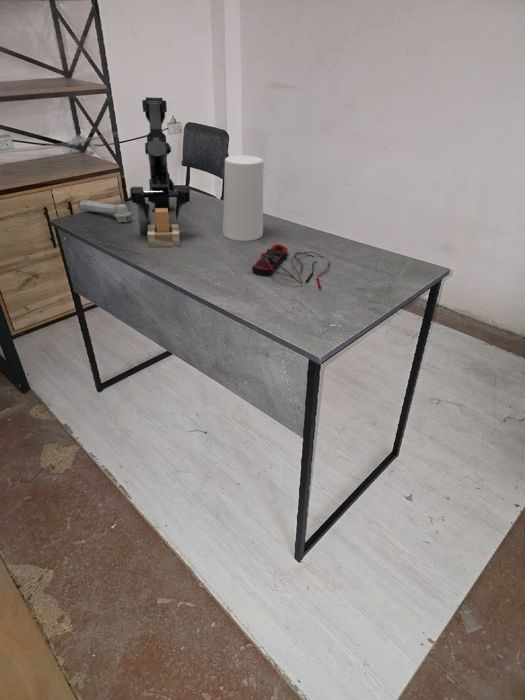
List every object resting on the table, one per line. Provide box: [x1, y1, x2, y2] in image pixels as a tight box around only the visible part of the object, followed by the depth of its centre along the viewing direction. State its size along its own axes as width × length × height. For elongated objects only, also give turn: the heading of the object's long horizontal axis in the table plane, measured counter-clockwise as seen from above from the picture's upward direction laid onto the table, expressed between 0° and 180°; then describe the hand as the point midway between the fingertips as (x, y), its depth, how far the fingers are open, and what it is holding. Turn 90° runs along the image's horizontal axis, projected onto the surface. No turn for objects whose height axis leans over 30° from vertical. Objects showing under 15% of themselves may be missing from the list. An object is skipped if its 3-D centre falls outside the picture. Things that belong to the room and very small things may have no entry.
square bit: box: [154, 207, 170, 233], centre depth 152 cm, size 4×4×10 cm
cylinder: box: [222, 154, 264, 242], centre depth 157 cm, size 14×25×14 cm
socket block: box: [147, 223, 181, 248], centre depth 154 cm, size 10×10×4 cm
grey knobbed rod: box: [77, 199, 132, 223], centre depth 173 cm, size 5×7×25 cm
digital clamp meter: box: [251, 244, 331, 293], centre depth 140 cm, size 23×4×25 cm
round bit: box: [136, 202, 152, 237], centre depth 157 cm, size 4×4×10 cm
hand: (162, 218), depth 149 cm, fingers open, 9 cm apart
